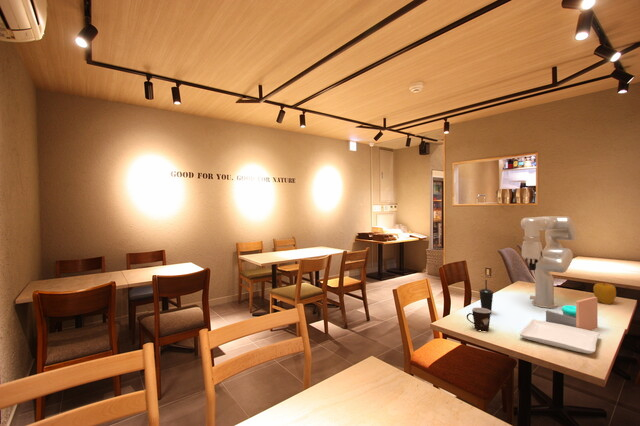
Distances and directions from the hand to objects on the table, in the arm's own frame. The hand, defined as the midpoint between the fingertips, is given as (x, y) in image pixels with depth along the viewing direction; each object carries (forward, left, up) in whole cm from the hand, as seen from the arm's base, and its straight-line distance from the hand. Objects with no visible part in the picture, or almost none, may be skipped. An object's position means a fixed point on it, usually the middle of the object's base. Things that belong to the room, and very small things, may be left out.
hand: (532, 269), depth 185 cm
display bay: (+22, -5, -25) cm, 34 cm away
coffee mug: (+4, -51, -25) cm, 57 cm away
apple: (+10, +56, -25) cm, 62 cm away
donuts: (+24, -5, -25) cm, 35 cm away
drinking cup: (-10, -27, -25) cm, 38 cm away
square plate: (+30, -28, -26) cm, 48 cm away
